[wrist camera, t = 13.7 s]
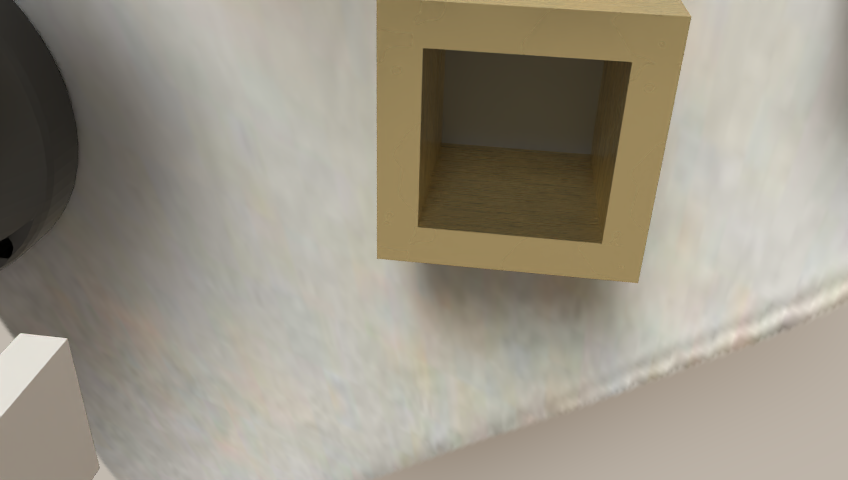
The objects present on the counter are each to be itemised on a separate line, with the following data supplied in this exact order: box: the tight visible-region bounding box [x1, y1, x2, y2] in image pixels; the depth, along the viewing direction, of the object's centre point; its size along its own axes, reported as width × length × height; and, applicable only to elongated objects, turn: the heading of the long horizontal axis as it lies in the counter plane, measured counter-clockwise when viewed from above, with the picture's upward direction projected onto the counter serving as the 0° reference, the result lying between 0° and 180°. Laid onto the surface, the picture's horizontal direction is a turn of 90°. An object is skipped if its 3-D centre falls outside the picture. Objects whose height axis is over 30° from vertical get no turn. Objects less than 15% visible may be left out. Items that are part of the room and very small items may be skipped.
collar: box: [377, 0, 691, 283], centre depth 25 cm, size 8×8×6 cm
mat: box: [442, 50, 604, 154], centre depth 28 cm, size 9×9×1 cm
